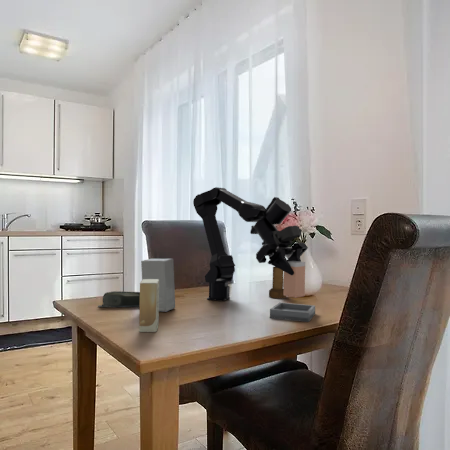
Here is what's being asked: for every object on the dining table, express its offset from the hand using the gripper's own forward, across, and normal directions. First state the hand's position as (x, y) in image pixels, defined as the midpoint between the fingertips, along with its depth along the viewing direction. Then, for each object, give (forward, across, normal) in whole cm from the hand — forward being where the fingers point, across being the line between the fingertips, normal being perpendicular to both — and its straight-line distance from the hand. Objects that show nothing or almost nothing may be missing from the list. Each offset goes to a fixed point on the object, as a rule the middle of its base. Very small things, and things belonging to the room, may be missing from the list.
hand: (298, 273), depth 112 cm
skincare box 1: (-14, -26, +33) cm, 44 cm away
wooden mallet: (-8, +20, +26) cm, 34 cm away
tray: (+8, 0, +10) cm, 13 cm away
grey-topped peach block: (+4, 0, +6) cm, 7 cm away
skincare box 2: (-2, -40, +20) cm, 45 cm away
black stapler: (-22, -33, +41) cm, 57 cm away
